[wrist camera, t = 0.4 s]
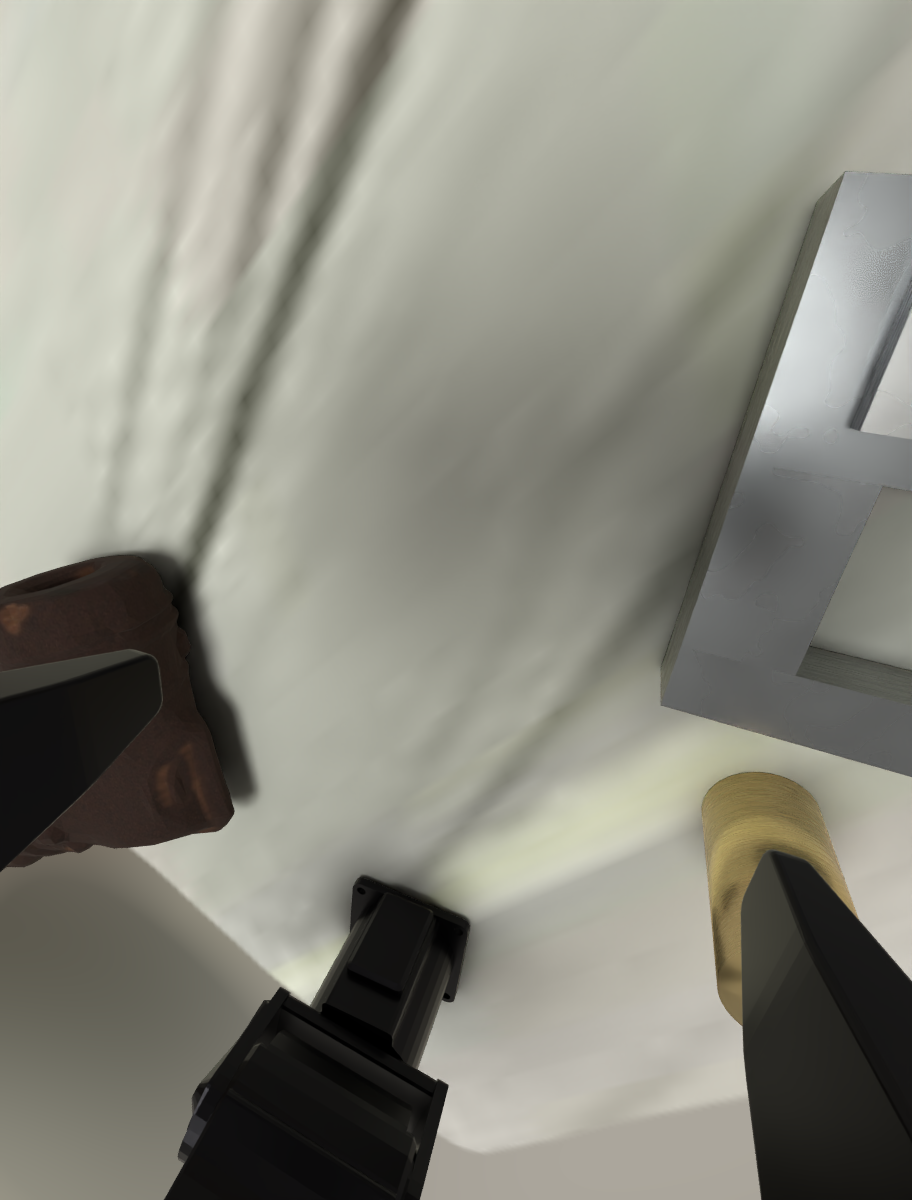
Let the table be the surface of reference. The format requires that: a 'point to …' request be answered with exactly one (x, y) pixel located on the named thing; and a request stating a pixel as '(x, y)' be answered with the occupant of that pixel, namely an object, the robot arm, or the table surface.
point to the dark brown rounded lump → (164, 747)
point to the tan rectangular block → (756, 857)
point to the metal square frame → (811, 495)
